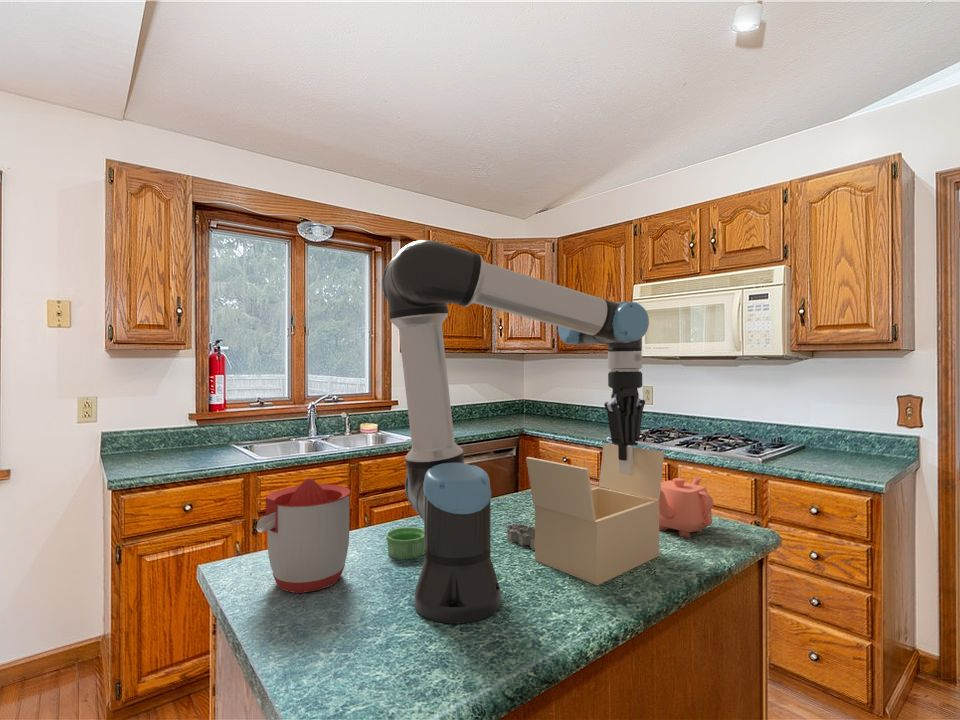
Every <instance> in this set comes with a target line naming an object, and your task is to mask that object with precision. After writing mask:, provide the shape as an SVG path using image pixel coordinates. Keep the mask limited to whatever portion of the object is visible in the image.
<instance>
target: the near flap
mask: <svg viewBox="0 0 960 720" xmlns="http://www.w3.org/2000/svg"><path fill="white" fill-rule="evenodd" d="M525 460H526V467H527V472H528V479H529V485H530V492H531V499H532V505H534V506H535V505H537V506H540V507H544V508H547V509H551V510H554V511H558V512H561V513H564V514H568V515H571V516H575V517H578V518H582V519H585V520H589V521H592V522H595V521H596V518H595V511H594V504H593V497H592V490H591V485H592V484H591V479H590V470H589V468H588V467H587V468H586V467H581V466H576V465H572V464H566V463H562V462H556V461H551V460H546V459H540V458H535V457H530V456H527V457H526V458H525Z"/></svg>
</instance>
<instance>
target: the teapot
mask: <svg viewBox="0 0 960 720" xmlns="http://www.w3.org/2000/svg"><path fill="white" fill-rule="evenodd" d="M701 480H702V476H696V477H695V478H693V480H692V482H691V483H689V482H686V479H684V478H679V477H675V478H673V479H672V480H665V481H661V490H660V500H658V499H654V500H658V501H659V531H667V530H668V529H672V530H677V531H678V534H679V537H683V538H690V537H691V533H695V532H703V529H704V528H706V527H709V526H711V525H712V524H713V518H712V509H713V507H714V498H713V497H712V496H711V495H710V494H709V493H708V490H707V488H706V486H703V485H700V482H701ZM648 498H649V497H648ZM649 499H653V498H649Z"/></svg>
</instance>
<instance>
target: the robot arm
mask: <svg viewBox="0 0 960 720" xmlns="http://www.w3.org/2000/svg"><path fill="white" fill-rule="evenodd" d="M381 286H382V292H383V293H384V294H383V295H384V297H385V299H386V300H387V306H388V307H387V308H388V314H389V322H390V323H392V324H393V325H394V326H395V327H396V328H398V335H399V341H400V342H399V343H400V350H401V351H400V352H401V359H402V360H401V361H402V370H403V378H404V387H405V388H404V389H405V396H406V404H407V405H406V406H407V414H408V415H407V416H408V421H409V422H408V423H409V431H410V432H409V433H410V440H411V441H410V443H411V449H410V450H409V451H408V452H407V454H406V455H405V463H406V464H405V465H406V477H405V481H404V483H405V484H404V488H405V489H404V490H405V496H406V498H407V500H408V502H409V504H410V506H411V507H412V508H413V510H414V511H415V512H416V513H417V514H418V516H419V517H420V518H421V519H422V520H423V526H424V547H425V552H424V559H423V563H422V567H421V570H420V574H419V577H418V581H417V585H416V587H415V589H414V607H415V610H416V611H417V613H418V614H420V616H423V617H424V618H426V619H429V620H431V621H435V622H439V623H442V624H443V623H444V624H468V623H472V622H477V621H480V620H483V619H487V618H488V617H491V616H492V615H493V614H495V613H496V612H497V611H498V610H499V609H500V607H501V602H502V600H501V599H502V593H501V587H500V583H499V581H498V577H497V573H496V570H495V568H494V565H493V562H492V558H491V557H492V556H491V517H492V516H491V511H492V510H491V506H492V505H491V503H492V502H491V499H492V490H491V489H492V488H491V483H490V482H491V481H490V476H489V474H488V473H487V472H486V471H485V470H484V469H483V468H482V467H479V466H477V465H474V464H469V463H465V456H464V448H462V447H461V446H460V445H458V444H457V443H456V442H455V433H454V426H453V425H454V424H453V417H452V408H451V407H452V405H451V399H450V396H451V395H450V387H449V379H448V377H449V376H448V371H447V370H448V369H447V360H446V352H445V351H446V350H445V343H444V333H443V323H444V322H445V320H446V319H447V318H448V316H449V310H448V304H453V305H459V306H461V307H469V306H470V305H472V304H475V305H479V306H483V307H487V308H491V309H495V310H498V311H501V312H505V313H509V314H511V315H515V316H519V317H522V318H523V317H524V318H528V319H530V320H534V321H538V322H542V323H545V324H547V325H548V324H549V325H553V326H556V327H557V331H558V332H557V333H558V337H559V339H560V340H561V342H562V343H564V344H566V345H575V346H578V345H607V369H608V370H610V371H609V372H608V373H607V385H608V386H607V387H609V388H611V389H612V392H611V397H610V398H611V399H610V400H609V402H608V401H605V403H604V408H605V411H606V413H607V421H608V425H609V432H610V439H611V444H614V445H618V453H619V454H618V458H619V474H624V475H633V447H634V446H638V442H639V440H640V437H641V427H642V421H643V420H642V419H643V412H644V407H645V405H646V400H645V399H641V398H640V394H639V389H640V388H642V387H643V372H642V371H640V370H641V369H642V368H643V352H642V351H643V337H644V336H645V335H646V334H647V332H648V329H649V324H650V319H649V315H648V311H647V310H646V309H645V308H644V306H642V305H641V304H640V303H638V302H637V301H617V302H615V301H612V300H609V299H605V298H601V297H598V296H595V295H592V294H589V293H585V292H582V291H578V290H575V289H574V288H569V287H567V286H562V285H559V284H556V283H553V282H550V281H546V280H544V279H540V278H537V277H533V276H530V275H527V274H525V273H520V272H517V271H515V270H511V269H508V268H504V267H501V266H498V265H496V264H492V263H488V262H486V261H485V259H484V258H483V256H482V255H481V254H479V253H476V252H472V251H469V250H466V249H463V248H460V247H457V246H454V245H451V244H448V243H443V242H440V241H437V240H436V241H435V240H431V239H420V240H416V241H412V242H410V243H408V244H406V245H405V246H403V247H402V248H401V249H400V250H399V251H398V252H397V254H396V255H395V256H394V257H393V258H392V259H391V260H390V261H389V262H388V264H387V265H386V267H385V269H384V271H383V274H382V280H381Z"/></svg>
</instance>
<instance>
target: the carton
mask: <svg viewBox="0 0 960 720" xmlns="http://www.w3.org/2000/svg"><path fill="white" fill-rule="evenodd" d="M591 490H592V497H593V504H594V511H595V518H596V521H595V522H592V521H589V520H585V519H582V518H578V517H575V516H571V515H568V514H564V513H561V512H558V511H554V510H551V509H547V508H544V507H540V506H537V505H534V526H535V537H534V538H535V549H534V561H536V562H537V563H540V564H543V565H545V566H548V567H550V568H551V569H552V568H553V569H555V570H557V571H560V572H563V573H565V574H568V575H570V576H572V577H575V578H577V579H580V580H583V581H586V582H588V583H590V584H593V585H595V586H599V585H601V584H604V583H606V582H607V581H609V580H612V579H614V578H616V577H617V576H620V575H622V574H625V573H627V572H628V571H631V570H633V569H634V568H637V567H639V566H641V565H643V564H646V563H647V562H650V561H651V560H653V559H656V558H658V557H659V556H660V530H659V501H658V500H654V499H649V497H644V496H640V495H635V494H631V493H627V492H622V491H618V490H613V489H609V488H604V487H600V486H598V487H596V488H592V489H591Z"/></svg>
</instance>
